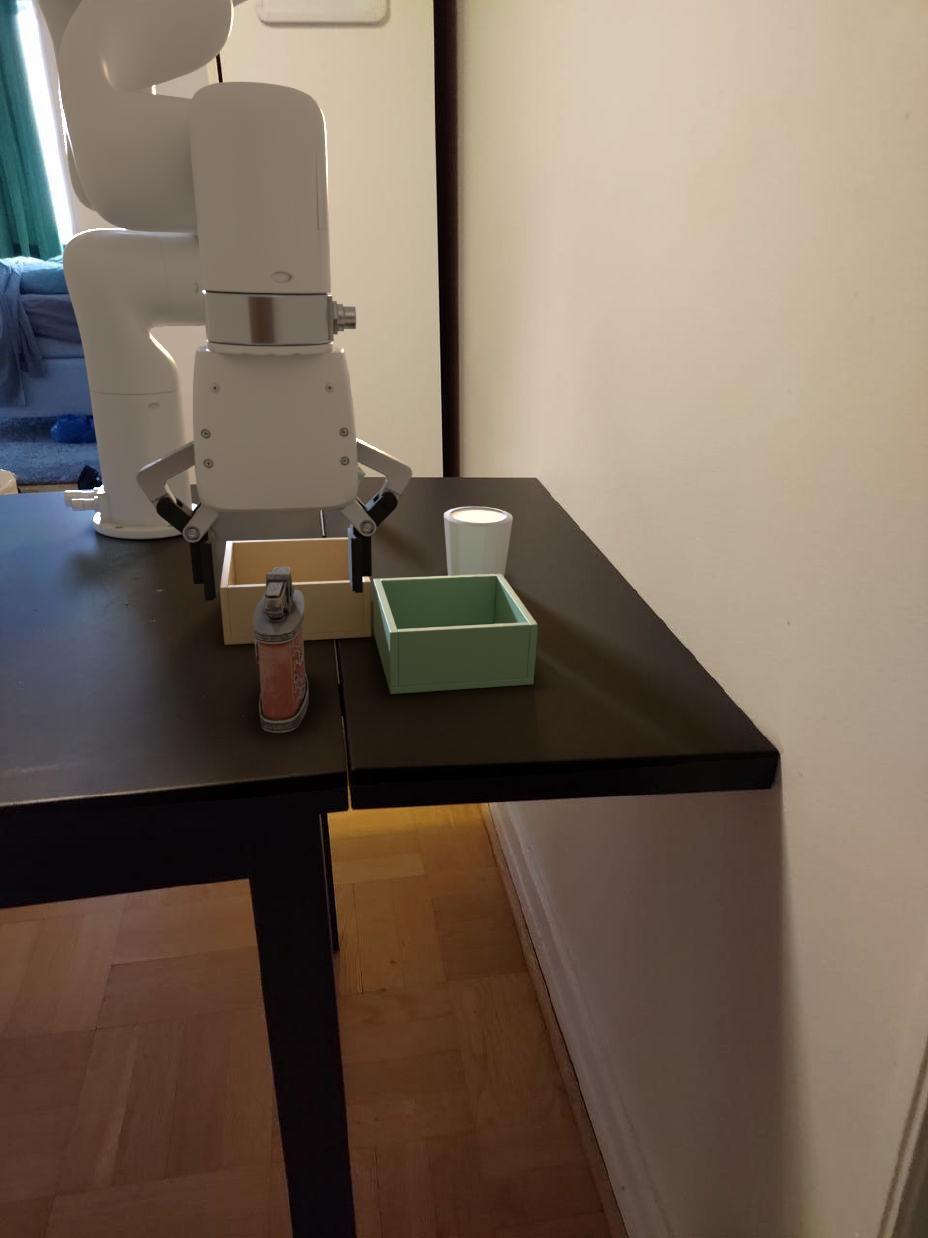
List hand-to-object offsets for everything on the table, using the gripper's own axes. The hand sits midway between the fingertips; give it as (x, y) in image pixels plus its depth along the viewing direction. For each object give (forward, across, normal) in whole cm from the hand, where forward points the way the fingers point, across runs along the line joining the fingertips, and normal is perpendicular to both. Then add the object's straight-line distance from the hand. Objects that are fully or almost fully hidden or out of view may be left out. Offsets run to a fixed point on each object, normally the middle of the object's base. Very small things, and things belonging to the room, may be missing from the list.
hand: (285, 589), depth 58 cm
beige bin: (+9, -1, -18) cm, 20 cm away
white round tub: (+9, -19, -24) cm, 31 cm away
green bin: (+9, -13, -6) cm, 17 cm away
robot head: (+9, -8, -54) cm, 55 cm away
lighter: (+9, 0, 0) cm, 9 cm away
